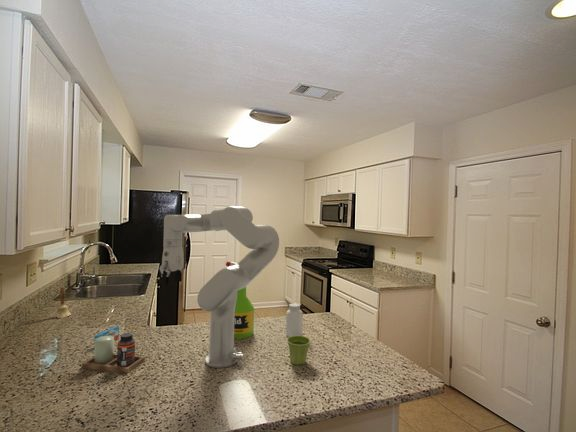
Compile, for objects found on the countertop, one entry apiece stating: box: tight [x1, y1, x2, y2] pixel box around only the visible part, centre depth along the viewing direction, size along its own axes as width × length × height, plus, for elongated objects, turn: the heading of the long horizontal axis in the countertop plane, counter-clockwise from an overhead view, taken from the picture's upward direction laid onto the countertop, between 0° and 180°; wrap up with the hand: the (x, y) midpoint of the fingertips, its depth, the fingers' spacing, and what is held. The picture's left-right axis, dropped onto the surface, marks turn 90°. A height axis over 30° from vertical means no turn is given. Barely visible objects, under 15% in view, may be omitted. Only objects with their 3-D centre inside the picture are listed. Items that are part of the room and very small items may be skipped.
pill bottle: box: [285, 303, 304, 338], centre depth 152 cm, size 8×8×15 cm
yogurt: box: [94, 325, 120, 341], centre depth 137 cm, size 12×2×6 cm, turn 167°
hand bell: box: [54, 287, 72, 318], centre depth 174 cm, size 8×8×16 cm
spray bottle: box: [225, 261, 255, 339], centre depth 154 cm, size 14×18×35 cm
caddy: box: [81, 352, 146, 374], centre depth 118 cm, size 19×10×2 cm, turn 80°
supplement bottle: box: [116, 332, 136, 367], centre depth 117 cm, size 6×6×11 cm
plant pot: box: [286, 335, 311, 366], centre depth 124 cm, size 9×9×9 cm
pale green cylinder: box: [93, 336, 115, 365], centre depth 118 cm, size 6×6×9 cm
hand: (172, 283), depth 133 cm, fingers open, 9 cm apart
